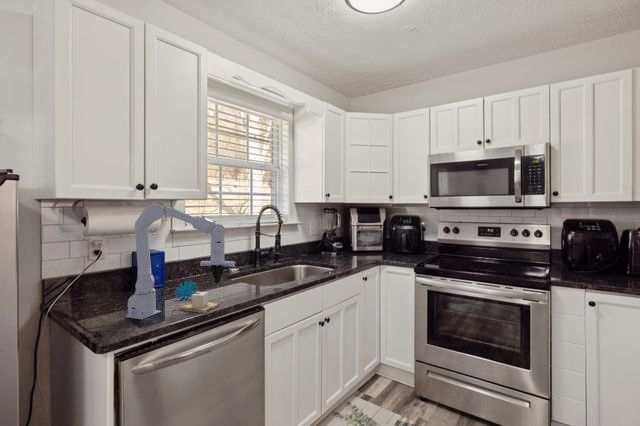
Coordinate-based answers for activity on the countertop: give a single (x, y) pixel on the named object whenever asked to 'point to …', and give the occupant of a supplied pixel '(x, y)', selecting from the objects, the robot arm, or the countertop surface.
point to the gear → (186, 290)
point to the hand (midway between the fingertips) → (217, 282)
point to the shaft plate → (200, 309)
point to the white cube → (200, 299)
